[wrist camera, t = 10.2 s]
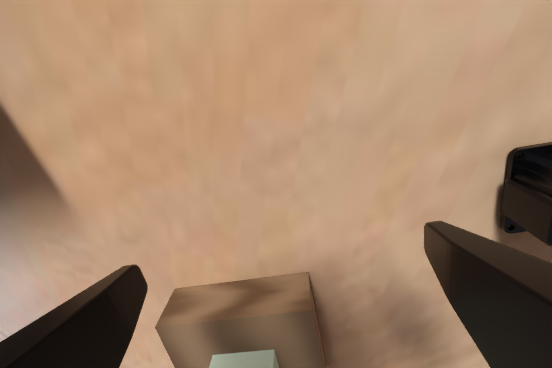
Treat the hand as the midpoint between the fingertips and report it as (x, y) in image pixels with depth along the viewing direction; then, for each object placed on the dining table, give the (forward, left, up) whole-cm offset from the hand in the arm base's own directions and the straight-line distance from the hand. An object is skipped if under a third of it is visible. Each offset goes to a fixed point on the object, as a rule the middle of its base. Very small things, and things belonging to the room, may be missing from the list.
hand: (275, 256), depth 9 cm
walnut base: (+6, +17, -12) cm, 22 cm away
